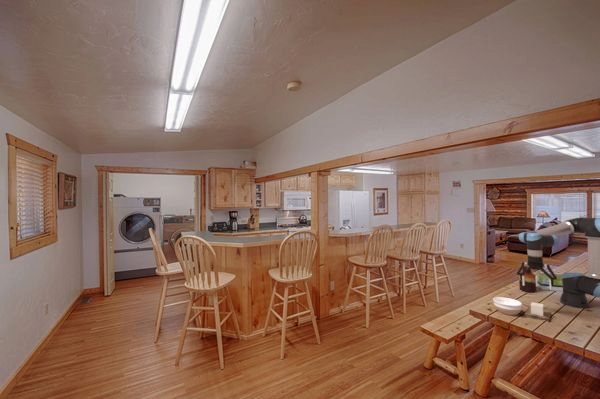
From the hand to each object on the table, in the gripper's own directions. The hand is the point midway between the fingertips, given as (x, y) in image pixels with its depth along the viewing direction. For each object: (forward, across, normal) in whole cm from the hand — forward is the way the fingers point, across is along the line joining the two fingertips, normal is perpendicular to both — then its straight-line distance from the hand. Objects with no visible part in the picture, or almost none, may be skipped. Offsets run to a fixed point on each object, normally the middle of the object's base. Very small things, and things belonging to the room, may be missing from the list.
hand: (536, 287), depth 177 cm
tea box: (+21, -1, -76) cm, 78 cm away
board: (+20, 0, 0) cm, 20 cm away
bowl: (+20, +16, +6) cm, 26 cm away
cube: (+18, 0, +1) cm, 18 cm away
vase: (+20, +12, -58) cm, 62 cm away
